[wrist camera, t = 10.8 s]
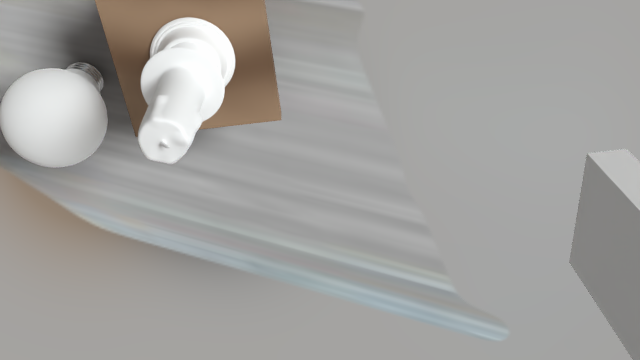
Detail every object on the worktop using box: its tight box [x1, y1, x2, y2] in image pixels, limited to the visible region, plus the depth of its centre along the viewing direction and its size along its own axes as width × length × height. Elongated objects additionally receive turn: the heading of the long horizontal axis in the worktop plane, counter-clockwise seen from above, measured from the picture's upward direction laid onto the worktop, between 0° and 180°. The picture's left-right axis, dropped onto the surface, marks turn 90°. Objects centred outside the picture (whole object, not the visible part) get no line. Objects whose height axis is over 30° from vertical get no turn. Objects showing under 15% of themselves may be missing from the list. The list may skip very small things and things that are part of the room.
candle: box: [138, 17, 235, 164], centre depth 32 cm, size 5×5×12 cm
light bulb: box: [0, 62, 108, 168], centre depth 41 cm, size 7×7×11 cm
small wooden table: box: [95, 0, 281, 137], centre depth 41 cm, size 10×10×8 cm
